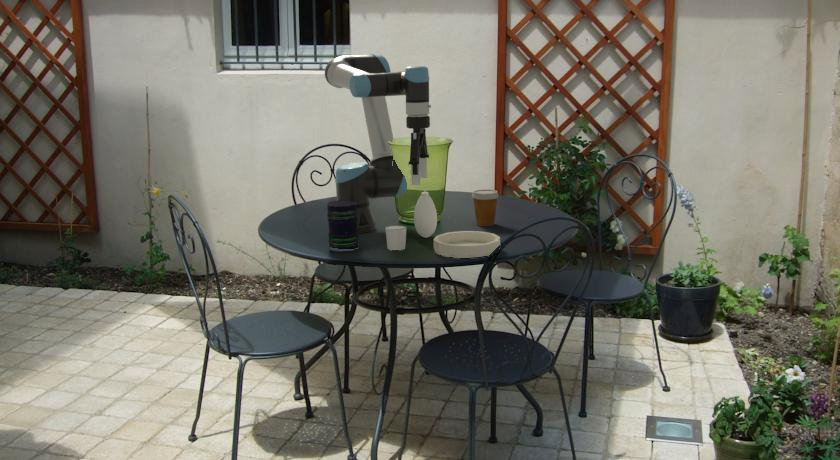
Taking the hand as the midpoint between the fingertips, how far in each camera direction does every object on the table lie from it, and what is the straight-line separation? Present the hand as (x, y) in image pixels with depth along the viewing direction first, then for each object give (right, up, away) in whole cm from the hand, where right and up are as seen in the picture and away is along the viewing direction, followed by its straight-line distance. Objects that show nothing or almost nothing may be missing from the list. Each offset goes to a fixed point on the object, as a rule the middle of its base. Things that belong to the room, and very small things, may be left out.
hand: (419, 181), depth 287 cm
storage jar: (-24, -22, -1) cm, 33 cm away
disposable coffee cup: (+24, -14, +29) cm, 40 cm away
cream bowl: (+15, -22, -8) cm, 28 cm away
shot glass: (-7, -22, -3) cm, 23 cm away
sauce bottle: (+2, -18, +12) cm, 22 cm away
